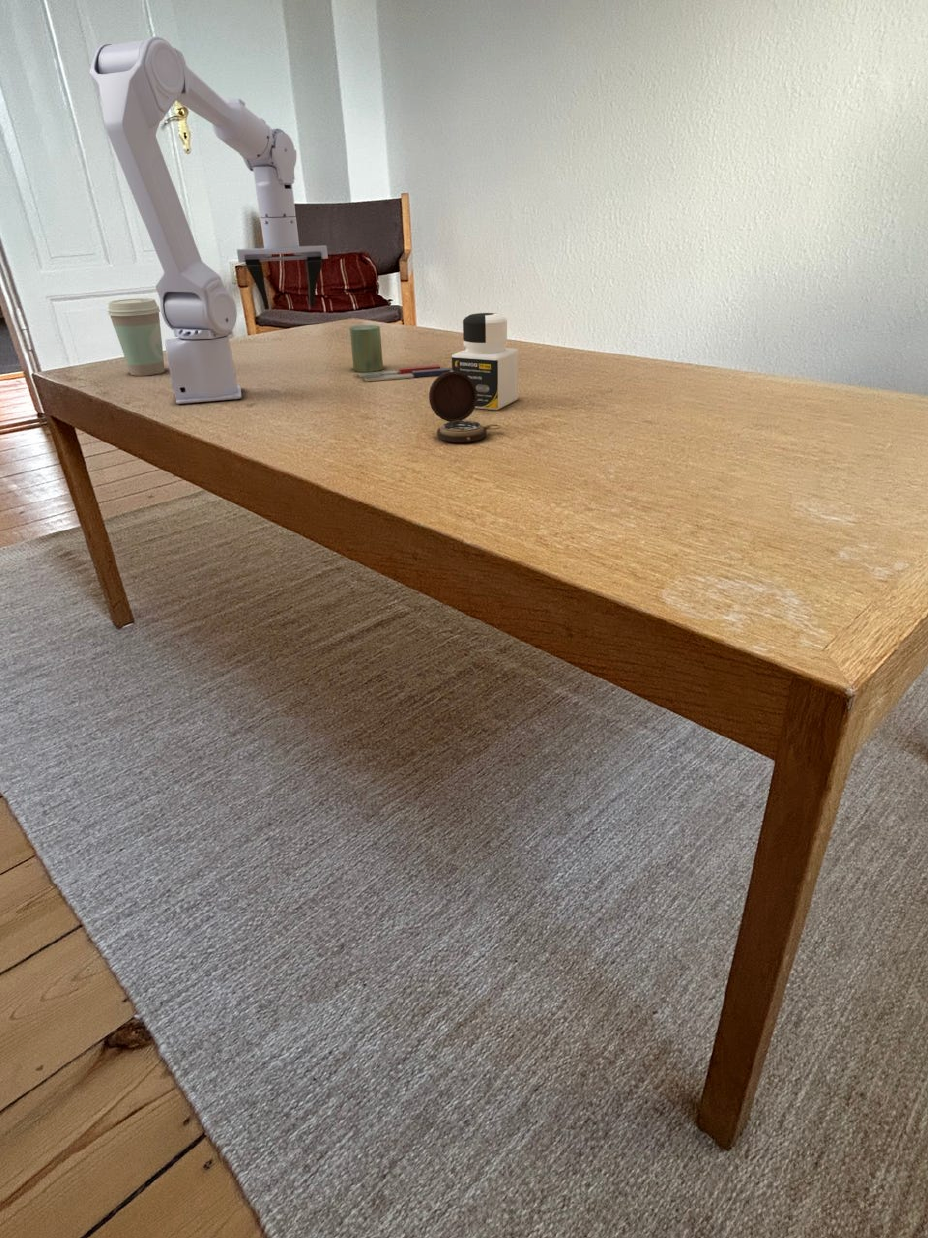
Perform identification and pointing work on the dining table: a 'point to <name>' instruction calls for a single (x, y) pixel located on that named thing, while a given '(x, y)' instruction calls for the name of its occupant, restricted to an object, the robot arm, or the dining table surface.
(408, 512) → the dining table surface
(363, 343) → the can
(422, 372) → the knife
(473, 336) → the medicine bottle
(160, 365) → the coffee cup
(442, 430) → the compass
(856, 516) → the dining table surface
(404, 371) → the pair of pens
